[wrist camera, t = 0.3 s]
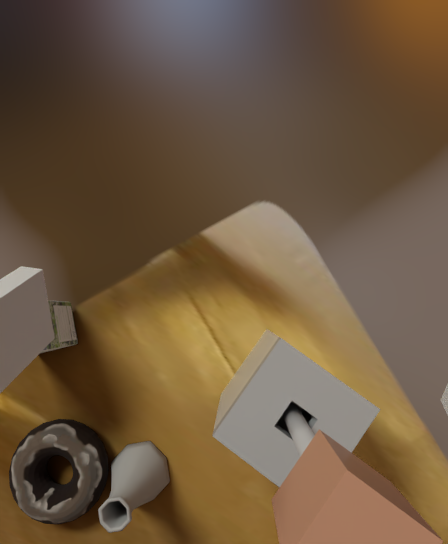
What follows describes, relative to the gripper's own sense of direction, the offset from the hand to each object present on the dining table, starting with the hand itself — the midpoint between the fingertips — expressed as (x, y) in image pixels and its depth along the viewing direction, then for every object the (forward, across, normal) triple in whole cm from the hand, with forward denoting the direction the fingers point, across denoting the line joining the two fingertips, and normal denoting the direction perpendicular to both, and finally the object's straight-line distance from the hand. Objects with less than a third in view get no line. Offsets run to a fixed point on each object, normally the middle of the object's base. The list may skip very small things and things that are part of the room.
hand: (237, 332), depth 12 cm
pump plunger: (+16, -4, +19) cm, 26 cm away
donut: (+18, +22, +36) cm, 46 cm away
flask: (+19, +12, +36) cm, 43 cm away
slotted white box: (+26, -3, +26) cm, 37 cm away
